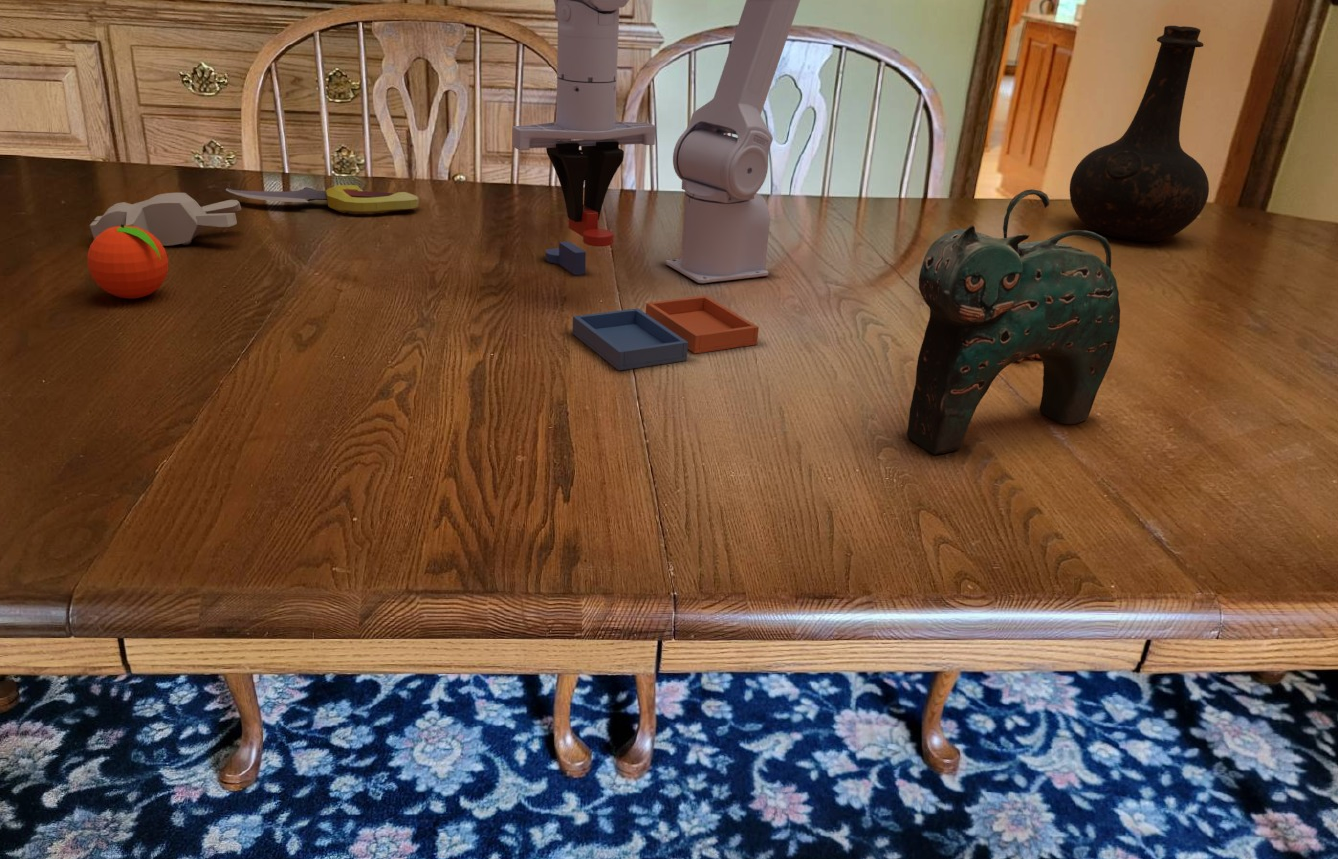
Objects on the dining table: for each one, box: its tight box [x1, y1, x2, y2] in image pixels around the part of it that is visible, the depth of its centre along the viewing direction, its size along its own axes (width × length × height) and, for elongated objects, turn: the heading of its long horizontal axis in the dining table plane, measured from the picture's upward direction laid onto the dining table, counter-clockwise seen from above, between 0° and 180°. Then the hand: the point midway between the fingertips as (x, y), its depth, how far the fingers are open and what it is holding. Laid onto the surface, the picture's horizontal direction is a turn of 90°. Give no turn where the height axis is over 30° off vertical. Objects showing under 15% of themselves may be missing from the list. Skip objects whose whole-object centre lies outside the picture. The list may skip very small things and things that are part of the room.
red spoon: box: [568, 204, 615, 247], centre depth 106 cm, size 7×3×3 cm, turn 29°
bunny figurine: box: [89, 192, 242, 247], centre depth 118 cm, size 10×5×15 cm
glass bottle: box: [1069, 25, 1210, 243], centre depth 145 cm, size 18×18×28 cm
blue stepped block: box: [545, 241, 587, 276], centre depth 120 cm, size 7×3×3 cm, turn 29°
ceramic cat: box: [906, 188, 1121, 456], centre depth 82 cm, size 20×6×20 cm, turn 117°
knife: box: [225, 184, 420, 214], centre depth 136 cm, size 8×3×25 cm
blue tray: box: [572, 307, 688, 372], centre depth 98 cm, size 7×10×2 cm
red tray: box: [645, 295, 760, 354], centre depth 103 cm, size 7×10×2 cm
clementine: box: [87, 224, 169, 300], centre depth 100 cm, size 8×7×7 cm
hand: (583, 218), depth 107 cm, fingers closed on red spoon
